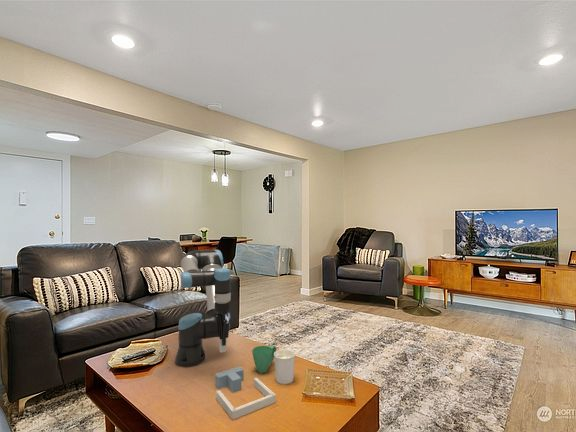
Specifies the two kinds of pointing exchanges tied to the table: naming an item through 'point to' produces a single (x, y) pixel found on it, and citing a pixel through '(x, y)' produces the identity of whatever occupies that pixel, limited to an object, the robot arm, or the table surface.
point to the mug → (263, 357)
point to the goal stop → (248, 407)
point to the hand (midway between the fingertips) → (222, 351)
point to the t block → (230, 379)
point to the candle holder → (284, 366)
